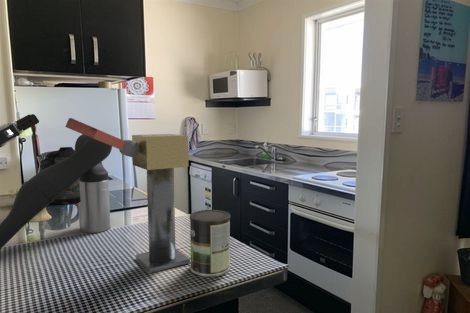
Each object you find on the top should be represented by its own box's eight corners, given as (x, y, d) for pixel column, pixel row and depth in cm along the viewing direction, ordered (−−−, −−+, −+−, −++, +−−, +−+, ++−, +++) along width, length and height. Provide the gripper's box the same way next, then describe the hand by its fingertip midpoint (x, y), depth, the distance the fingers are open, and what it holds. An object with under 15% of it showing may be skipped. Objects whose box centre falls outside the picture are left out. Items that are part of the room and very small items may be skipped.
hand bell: (49, 221, 132) (46, 179, 130) (24, 223, 129) (21, 180, 127) (53, 215, 140) (51, 175, 138) (30, 217, 137) (27, 176, 135)
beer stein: (97, 199, 167) (95, 146, 165) (58, 207, 151) (55, 150, 148) (76, 195, 176) (74, 145, 173) (37, 202, 160) (34, 148, 157)
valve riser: (150, 273, 87) (146, 136, 84) (136, 258, 96) (131, 134, 93) (190, 263, 93) (188, 135, 90) (173, 250, 103) (170, 133, 99)
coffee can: (189, 277, 85) (188, 221, 83) (191, 260, 95) (190, 209, 94) (231, 276, 86) (231, 220, 84) (229, 259, 96) (228, 209, 94)
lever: (130, 157, 90) (137, 143, 90) (135, 159, 86) (142, 144, 87) (63, 130, 80) (70, 114, 81) (65, 130, 77) (73, 114, 78)
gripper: (-26, 168, 80) (41, 130, 87) (-30, 176, 68) (49, 132, 75) (-50, 140, 77) (22, 104, 84) (-58, 144, 65) (26, 101, 72)
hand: (34, 117), depth 80 cm, fingers open, 8 cm apart
